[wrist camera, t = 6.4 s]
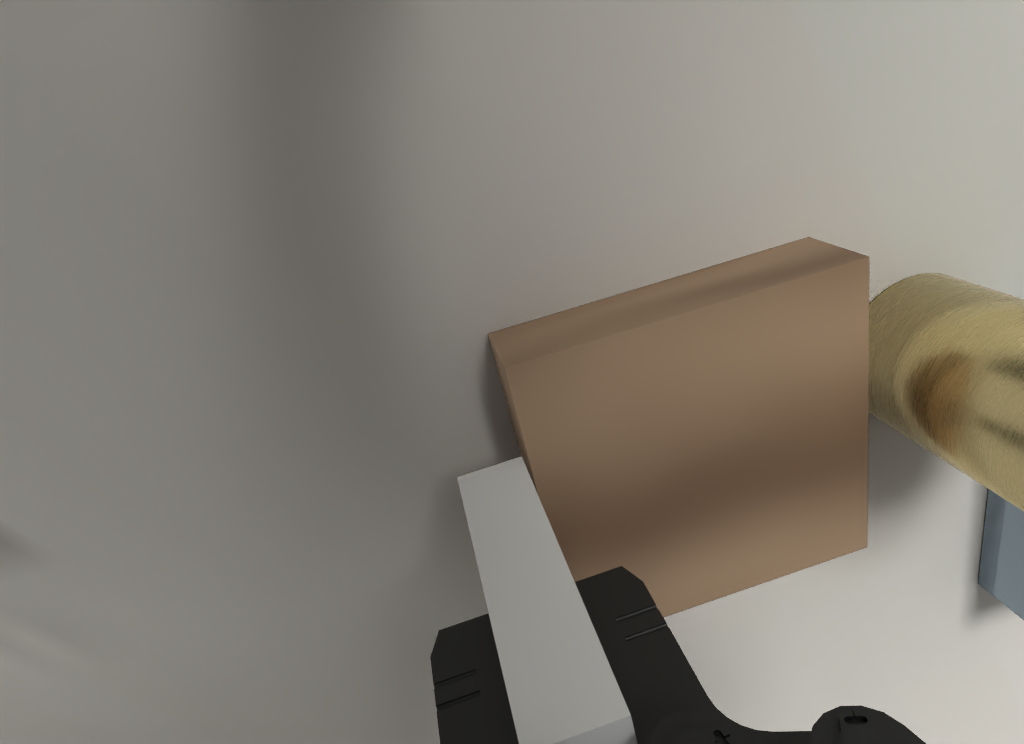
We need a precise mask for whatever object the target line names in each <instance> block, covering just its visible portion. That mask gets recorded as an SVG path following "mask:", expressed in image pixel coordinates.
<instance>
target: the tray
mask: <svg viewBox="0 0 1024 744" xmlns="http://www.w3.org/2000/svg"><path fill="white" fill-rule="evenodd" d="M978 584H979V585H981V586H982V587H983V588H984V589H986V590H987V591H988V592H989V593H990V594H992V595H993V596H994V597H995V598H997V599H998V600H999V601H1000V602H1002V603H1003V604H1004V605H1005V606H1007V607H1008V608H1009V609H1010V610H1012V611H1013V612H1014V613H1015V614H1017V615H1018V616H1019V617H1020V618H1022V619H1023V620H1024V511H1022V510H1021V509H1019V508H1018V507H1016V506H1015V505H1013V504H1011V503H1010V502H1008V501H1007V500H1005V499H1004V498H1002V497H1000V496H999V495H997V494H996V493H994V492H993V491H991V490H990V489H989V492H988V501H987V509H986V518H985V527H984V536H983V545H982V554H981V563H980V572H979V580H978Z"/></svg>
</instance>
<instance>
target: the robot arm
mask: <svg viewBox="0 0 1024 744" xmlns="http://www.w3.org/2000/svg"><path fill="white" fill-rule="evenodd" d="M457 480H458V484H459V489H460V493H461V497H462V501H463V506H464V510H465V514H466V519H467V523H468V527H469V531H470V536H471V540H472V544H473V549H474V553H475V557H476V561H477V566H478V570H479V574H480V578H481V583H482V587H483V591H484V596H485V600H486V604H487V608H488V614H485V615H483V616H480V617H477V618H474V619H471V620H468V621H465V622H462V623H459V624H456V625H453V626H451V627H448V628H445V629H442V630H439V632H438V635H437V638H436V642H435V645H434V648H433V651H432V654H431V665H432V674H433V683H434V687H435V689H434V692H435V701H436V707H437V718H438V727H439V736H440V744H926V743H925V742H923V741H922V740H921V739H920V738H919V737H917V736H916V735H915V734H914V733H913V732H911V731H910V730H909V729H908V728H907V727H905V726H904V725H903V724H901V723H900V722H898V721H896V720H895V719H893V718H892V717H890V716H888V715H887V714H885V713H884V712H881V711H877V710H874V709H870V708H867V707H864V706H840V707H837V708H835V709H833V710H830V711H828V712H826V713H823V715H822V716H821V717H820V718H819V719H818V721H817V722H816V723H815V724H814V725H813V727H812V731H793V732H770V731H759V730H754V729H751V728H748V727H745V726H741V725H739V724H738V723H736V722H734V721H732V720H730V719H729V718H727V717H726V716H725V715H724V714H722V713H721V712H720V711H719V710H718V709H717V708H716V707H715V706H714V705H713V703H712V702H711V700H710V699H709V698H708V696H707V695H706V693H705V691H704V689H703V687H702V686H701V684H700V682H699V680H698V679H697V677H696V675H695V673H694V671H693V670H692V668H691V666H690V664H689V662H688V661H687V659H686V657H685V655H684V654H683V652H682V650H681V648H680V646H679V645H678V643H677V641H676V639H675V638H674V636H673V634H672V632H671V630H670V629H669V627H668V626H667V624H666V621H665V620H664V618H663V616H662V614H661V613H660V611H659V609H657V607H656V604H655V602H654V600H653V598H652V596H651V595H650V593H649V591H648V589H647V588H646V586H645V584H644V582H643V581H642V580H640V579H639V578H638V577H636V576H635V575H634V574H632V573H631V572H629V571H628V570H627V569H625V568H624V567H623V566H620V567H617V568H614V569H611V570H608V571H605V572H602V573H599V574H597V575H594V576H591V577H588V578H585V579H582V580H579V581H576V582H574V579H573V577H572V574H571V572H570V570H569V567H568V565H567V563H566V560H565V558H564V556H563V553H562V551H561V548H560V546H559V544H558V541H557V539H556V537H555V534H554V532H553V529H552V527H551V525H550V522H549V520H548V518H547V515H546V513H545V510H544V508H543V506H542V503H541V501H540V499H539V496H538V494H537V492H536V489H535V487H534V484H533V482H532V480H531V477H530V475H529V473H528V470H527V468H526V465H525V463H524V461H523V458H522V456H521V457H518V458H515V459H512V460H508V461H505V462H502V463H499V464H496V465H493V466H490V467H487V468H484V469H481V470H478V471H474V472H471V473H468V474H465V475H462V476H459V477H457Z"/></svg>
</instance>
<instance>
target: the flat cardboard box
mask: <svg viewBox="0 0 1024 744" xmlns="http://www.w3.org/2000/svg"><path fill="white" fill-rule="evenodd" d="M488 337H489V340H490V344H491V348H492V351H493V355H494V359H495V362H496V366H497V370H498V373H499V377H500V381H501V384H502V388H503V392H504V395H505V399H506V402H507V406H508V410H509V413H510V417H511V421H512V424H513V428H514V432H515V435H516V439H517V443H518V446H519V450H520V454H521V456H522V458H523V461H524V463H525V465H526V468H527V470H528V473H529V475H530V477H531V480H532V482H533V484H534V487H535V489H536V492H537V494H538V496H539V499H540V501H541V503H542V506H543V508H544V510H545V513H546V515H547V518H548V520H549V522H550V525H551V527H552V529H553V532H554V534H555V537H556V539H557V541H558V544H559V546H560V548H561V551H562V553H563V556H564V558H565V560H566V563H567V565H568V567H569V570H570V572H571V574H572V577H573V579H574V582H576V581H579V580H582V579H585V578H588V577H591V576H594V575H597V574H599V573H602V572H605V571H608V570H611V569H614V568H617V567H620V566H623V567H624V568H625V569H627V570H628V571H629V572H631V573H632V574H634V575H635V576H636V577H638V578H639V579H640V580H642V581H643V582H644V584H645V586H646V588H647V589H648V591H649V593H650V595H651V596H652V598H653V600H654V602H655V604H656V607H657V609H659V611H660V613H661V614H662V616H663V617H666V616H669V615H672V614H675V613H678V612H680V611H683V610H686V609H689V608H692V607H695V606H698V605H701V604H704V603H707V602H709V601H712V600H715V599H718V598H721V597H724V596H727V595H730V594H733V593H736V592H738V591H741V590H744V589H747V588H750V587H753V586H756V585H759V584H762V583H765V582H767V581H770V580H773V579H776V578H779V577H782V576H785V575H788V574H791V573H794V572H796V571H799V570H802V569H805V568H808V567H811V566H814V565H817V564H820V563H823V562H825V561H828V560H831V559H834V558H837V557H840V556H843V555H846V554H849V553H852V552H854V551H857V550H860V549H863V548H866V547H867V523H868V371H869V257H868V256H865V255H862V254H859V253H856V252H853V251H850V250H847V249H844V248H840V247H837V246H834V245H831V244H828V243H825V242H822V241H819V240H816V239H813V238H810V237H807V238H804V239H800V240H797V241H794V242H790V243H787V244H784V245H780V246H777V247H774V248H770V249H767V250H764V251H761V252H757V253H754V254H751V255H747V256H744V257H741V258H737V259H734V260H731V261H727V262H724V263H721V264H717V265H714V266H711V267H707V268H704V269H701V270H698V271H694V272H691V273H688V274H684V275H681V276H678V277H674V278H671V279H668V280H664V281H661V282H658V283H654V284H651V285H648V286H644V287H641V288H638V289H635V290H631V291H628V292H625V293H621V294H618V295H615V296H611V297H608V298H605V299H601V300H598V301H595V302H591V303H588V304H585V305H581V306H578V307H575V308H572V309H568V310H565V311H562V312H558V313H555V314H552V315H548V316H545V317H542V318H538V319H535V320H532V321H528V322H525V323H522V324H518V325H515V326H512V327H509V328H505V329H502V330H499V331H495V332H492V333H489V334H488Z"/></svg>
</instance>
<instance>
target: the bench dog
mask: <svg viewBox="0 0 1024 744" xmlns="http://www.w3.org/2000/svg"><path fill="white" fill-rule="evenodd" d="M868 412H869V413H871V414H872V415H874V416H875V417H877V418H878V419H880V420H882V421H883V422H885V423H886V424H888V425H889V426H891V427H893V428H894V429H896V430H897V431H899V432H900V433H902V434H903V435H905V436H907V437H908V438H910V439H911V440H913V441H914V442H916V443H918V444H919V445H921V446H922V447H924V448H925V449H927V450H929V451H930V452H932V453H933V454H935V455H936V456H938V457H939V458H941V459H943V460H944V461H946V462H947V463H949V464H950V465H952V466H954V467H955V468H957V469H958V470H960V471H961V472H963V473H964V474H966V475H968V476H969V477H971V478H972V479H974V480H975V481H977V482H979V483H980V484H982V485H983V486H985V487H986V488H988V489H990V490H991V491H993V492H994V493H996V494H997V495H999V496H1000V497H1002V498H1004V499H1005V500H1007V501H1008V502H1010V503H1011V504H1013V505H1015V506H1016V507H1018V508H1019V509H1021V510H1022V511H1024V300H1023V299H1020V298H1017V297H1014V296H1011V295H1007V294H1004V293H1001V292H998V291H995V290H992V289H989V288H985V287H982V286H979V285H976V284H973V283H970V282H966V281H963V280H960V279H957V278H954V277H951V276H948V275H943V274H939V273H927V274H919V275H915V276H911V277H909V278H906V279H904V280H901V281H899V282H898V283H896V284H894V285H892V286H891V287H889V288H888V289H886V290H884V291H883V292H882V293H881V294H880V295H878V296H877V297H876V298H875V299H874V300H873V301H872V302H871V303H870V304H869V371H868Z"/></svg>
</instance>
